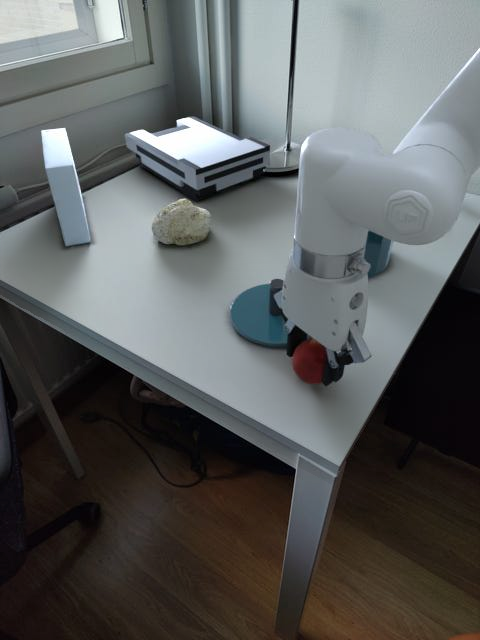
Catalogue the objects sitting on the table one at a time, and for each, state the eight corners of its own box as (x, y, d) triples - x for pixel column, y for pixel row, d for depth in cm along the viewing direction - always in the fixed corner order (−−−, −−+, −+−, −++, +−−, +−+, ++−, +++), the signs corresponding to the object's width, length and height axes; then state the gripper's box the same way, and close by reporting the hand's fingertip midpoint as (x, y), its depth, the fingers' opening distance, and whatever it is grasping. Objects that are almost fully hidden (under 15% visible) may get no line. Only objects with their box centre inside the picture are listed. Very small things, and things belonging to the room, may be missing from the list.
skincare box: (94, 242, 91) (73, 164, 81) (65, 247, 90) (41, 169, 80) (83, 196, 106) (64, 125, 96) (59, 201, 105) (37, 129, 94)
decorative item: (182, 243, 83) (144, 207, 84) (177, 269, 91) (143, 236, 92) (228, 210, 88) (191, 178, 90) (219, 238, 96) (186, 207, 98)
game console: (194, 141, 131) (192, 111, 125) (269, 179, 112) (270, 145, 106) (129, 161, 121) (123, 129, 116) (198, 205, 102) (195, 169, 97)
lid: (341, 321, 73) (347, 287, 68) (271, 364, 66) (273, 329, 62) (279, 278, 81) (281, 246, 77) (212, 312, 75) (209, 279, 70)
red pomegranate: (336, 369, 65) (344, 328, 60) (328, 400, 61) (336, 358, 56) (296, 360, 66) (300, 318, 61) (285, 390, 62) (289, 348, 57)
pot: (403, 259, 85) (415, 212, 79) (353, 288, 79) (362, 240, 73) (347, 230, 93) (354, 186, 87) (298, 254, 87) (302, 208, 81)
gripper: (416, 274, 46) (383, 390, 58) (298, 211, 57) (289, 320, 69) (367, 305, 43) (342, 421, 55) (250, 231, 53) (250, 343, 65)
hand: (313, 364), depth 62 cm, fingers closed on red pomegranate, 6 cm apart
